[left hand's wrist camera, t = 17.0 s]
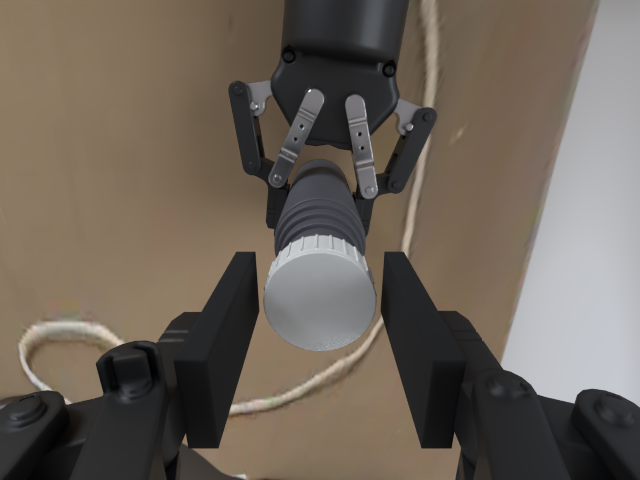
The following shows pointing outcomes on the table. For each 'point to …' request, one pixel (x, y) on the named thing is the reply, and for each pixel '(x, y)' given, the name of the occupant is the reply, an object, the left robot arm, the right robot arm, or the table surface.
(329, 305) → the cap
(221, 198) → the table surface
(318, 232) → the bottle
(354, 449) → the table surface
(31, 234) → the table surface
